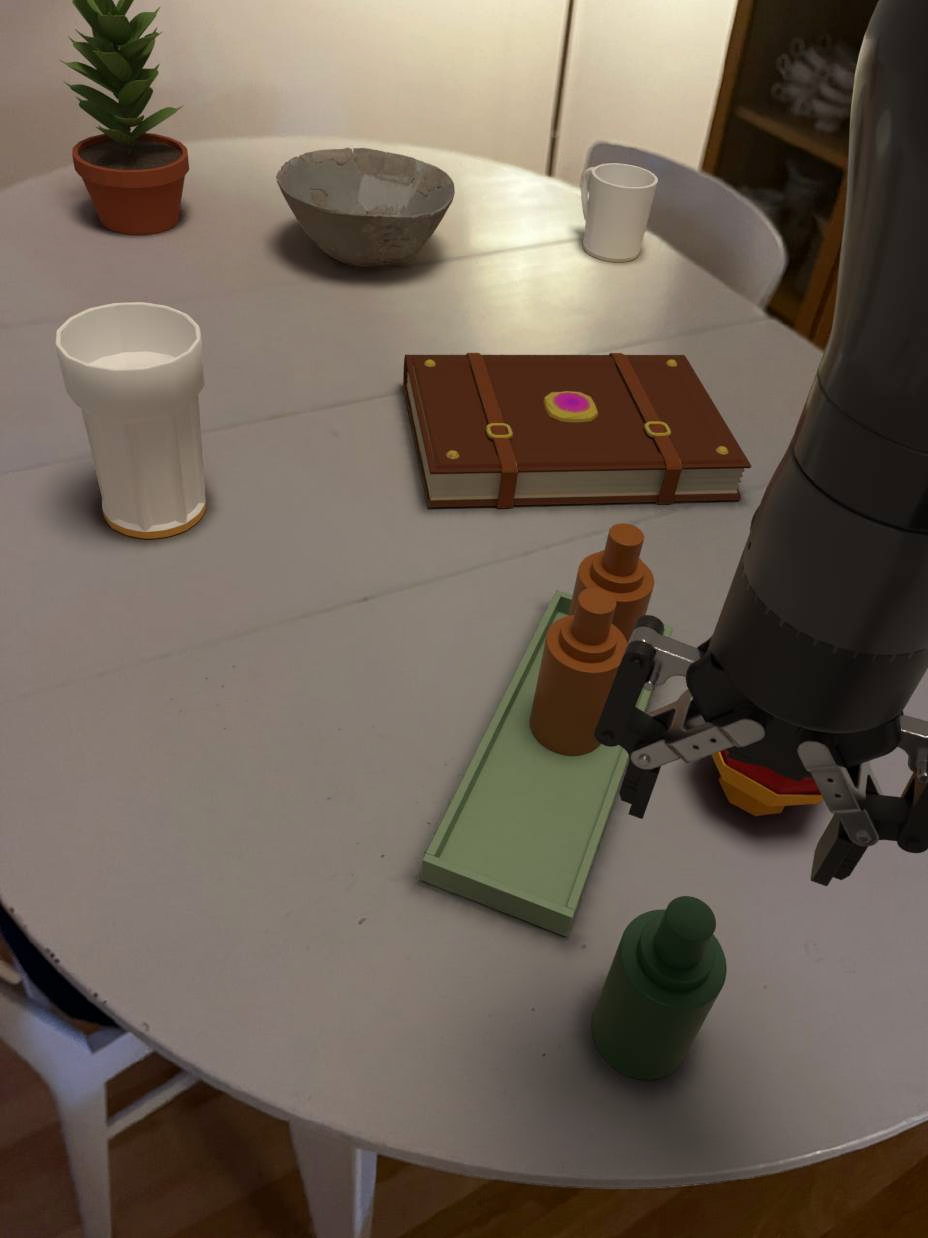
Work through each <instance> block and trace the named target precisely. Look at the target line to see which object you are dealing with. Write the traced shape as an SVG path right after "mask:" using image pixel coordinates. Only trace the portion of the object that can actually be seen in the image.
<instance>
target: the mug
mask: <svg viewBox="0 0 928 1238" xmlns="http://www.w3.org/2000/svg"><path fill="white" fill-rule="evenodd" d="M589 180H590V184H589ZM658 181H659V179H658V177H657V175H656V174H655V173H654V172H652V171H650V170H648V169H646V168H644V167H640V166H637V165H632V164H627V163H621V162H620V163H619V162H617V163H616V162H615V163H613V162H610V163H609V162H608V163H601V164H598V165H596V166H590V167H588V168H586V169H585V170H584V172H583V174H582V176H581V184H580V199H581V208H582V210H581V211H582V214H583V219H584V221H585V224H584V232H583V240H582V241H583V242H582V247H583V250H584V252H585V253H587V254H588V255H589V256H591V257H593V258H594V259H598V260H600V261H603V262H604V261H605V262H609V263H611V262H612V263H627V262H631V261H633V260H635V259H637V258H638V257H639V255H640V253H641V249H642V245H643V240H644V237H645V234H646V229H647V226H648V222H649V217H650V214H651V209H652V206H653V202H654V198H655V194H656V190H657V187H658V183H659V182H658Z"/></svg>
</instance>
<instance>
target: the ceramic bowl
mask: <svg viewBox="0 0 928 1238" xmlns="http://www.w3.org/2000/svg"><path fill="white" fill-rule="evenodd" d="M275 177H276V178H275V179H276V183H277V185H278V188H279V189H280V192H281V195H282V197H283V198H284V200H285V202H286V204H287V205H288V207H289V209H290V210H291V213H292V214H293V215H294V217H295V218H296V220H297V222H298V224H299V225H300V226H301V227H302V229H303V230H304V231H305V233H306V235H308V236H309V238H310V239H311V241H313V242H314V243H315V244H316V245H317V246H318V247H319V248H320V249H321V251H322V252H324V253H325V254H326V255H328V256H329V257H331V258H333V259H334V260H336V261H339V262H340V263H343V264H346V265H348V266H353V267H354V266H355V267H365V268H366V267H367V268H386V267H387V268H388V267H389V268H390V267H397V266H399V265H402V264H404V263H406V262H408V261H409V260H410V259H412V257H414V256H415V255H416V254H418V253H419V252H420V251H421V250H422V249H423V247H424V246H425V245H426V244H427V243H428V241H429V240H430V239H431V237H432V236H433V235H434V233H435V232H436V230H437V228H438V227H439V225H440V224H441V223H442V221H443V219H444V217H445V215H446V213H447V212H448V210H449V208H450V207H451V204H452V203H453V202H454V198H455V193H456V190H455V183H454V181H453V179H452V178H451V176H450V175H449V174H448V173H447V172H446V171H444V170H443V169H441V168H440V167H438V166H436V165H433V164H432V163H429V162H425V161H424V160H420V159H416V158H415V157H412V156H408V155H404V154H400V153H394V152H391V151H390V152H389V151H387V152H386V151H383V150H378V149H373V148H368V147H367V148H366V147H353V148H350V147H344V148H330V149H329V148H328V149H318V150H313V151H309V152H305V153H303V154H299V156H294V157H291V158H289V159H288V161H285V162H284V163H283V165H281V166H280V169H278V171H277V173H276V176H275Z"/></svg>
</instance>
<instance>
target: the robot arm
mask: <svg viewBox="0 0 928 1238" xmlns="http://www.w3.org/2000/svg"><path fill="white" fill-rule="evenodd" d="M850 105H851V106H850V114H849V116H850V117H849V118H850V119H849V130H848V131H849V133H848V134H849V135H848V154H847V175H846V176H847V177H846V178H847V179H846V192H845V205H844V217H843V226H842V237H841V245H840V253H839V261H838V262H839V264H838V274H837V283H836V284H837V285H836V295H835V304H834V310H833V318H832V325H831V330H830V334H829V338H828V341H827V344H826V347H825V349H824V351H823V354H822V356H821V359H820V361H819V364H818V368H817V370H816V373H815V375H814V378H813V381H812V384H811V386H810V389H809V391H808V395H807V398H806V400H805V403H804V405H803V409H802V410H801V414H800V417H799V419H798V422H797V425H796V427H795V430H794V433H793V436H792V438H791V440H790V442H789V445H788V447H787V449H786V451H785V453H784V455H782V456H783V457H782V458H781V460H780V461H779V463H778V465H777V467H776V469H775V470H774V472H773V474H772V476H771V478H770V480H769V481H768V484H767V486H766V488H765V490H764V493H763V495H762V498H761V500H760V503H759V505H758V506H757V508H756V510H755V511H754V513H753V516H752V518H751V521H750V527H749V534H748V536H747V539H746V542H745V545H744V547H743V550H742V554H741V556H740V559H739V562H738V565H737V566H736V570H735V573H734V575H733V577H732V581H731V584H730V586H729V589H728V591H727V595H726V598H725V600H724V602H723V605H722V609H721V611H720V614H719V616H718V619H717V622H716V625H715V628H714V631H713V633H712V635H711V636H710V637H709V638H708V639H707V640H705V641H704V642H702V643H701V644H699V645H698V646H697V647H695V646H693V645H690V644H687V643H685V642H682V641H680V640H677V639H673V638H672V637H670V638H669V637H666V636H663V632H664V624H665V623H664V622H663V621H662V620H661V619H660V618H658V617H656V616H655V615H651V614H646V615H644V616H641V617H640V618H638V620H637V621H636V624H635V627H634V629H633V632H632V634H631V637H630V639H629V642H628V645H627V647H626V650H625V652H624V655H623V657H622V660H621V663H620V665H619V668H618V671H617V673H616V676H615V679H614V681H613V684H612V687H611V689H610V692H609V695H608V697H607V700H606V703H605V705H604V708H603V711H602V713H601V716H600V719H599V721H598V724H597V727H596V729H595V732H594V736H595V738H596V740H597V741H598V742H599V743H601V744H602V745H605V746H608V747H614V746H617V745H619V746H621V747H622V748H624V749H625V750H626V751H627V753H628V755H629V759H628V763H627V766H626V769H625V772H624V775H623V778H622V783H621V784H620V785H621V786H620V789H619V793H618V794H619V798H620V801H621V802H624V803H627V804H629V805H630V808H629V811H628V815H629V816H632V817H635V818H638V819H639V820H643V819H644V817H645V814H646V811H647V808H648V805H649V803H650V799H651V796H652V794H653V791H654V788H655V785H656V782H657V780H658V777H659V775H660V771H661V768H662V766H665V765H668V764H670V763H673V762H675V761H678V760H682V761H683V762H684V763H685V764H690V763H693V762H695V761H698V760H700V759H703V758H706V757H709V756H712V754H714V753H717V752H720V751H722V750H726V751H727V752H728V755H727V757H728V758H731V759H734V760H737V761H740V762H743V763H747V764H753V765H759V766H764V767H767V768H769V769H770V770H772V771H774V772H776V773H778V774H779V775H781V776H784V777H786V778H789V779H792V780H795V781H798V782H801V781H802V779H803V778H813V779H814V781H815V783H816V785H817V787H818V789H819V791H820V793H821V795H822V797H823V799H824V800H823V801H824V802H825V806H826V807H827V809H828V811H829V813H830V814H831V815H833V816H832V817H831V819H830V821H829V822H828V824H827V826H826V828H825V829H824V831H823V833H822V835H821V836H820V839H819V840H818V842H817V843H816V847H815V849H814V854H813V859H812V865H811V866H812V867H811V872H810V881H811V882H812V883H815V884H818V885H821V886H823V887H828V886H829V885H830V883H831V882H832V880H833V878H834V879H837V880H839V881H843V880H845V879H846V878H848V877H850V876H851V875H852V873H853V872H854V870H855V868H856V867H857V865H858V864H859V862H860V861H861V859H862V858H863V856H864V855H865V853H866V851H867V850H868V848H869V847H872V846H875V845H876V844H878V842H880V841H890V842H896V844H897V846H898V847H899V848H900V849H901V850H903V851H904V852H907V853H909V854H910V853H911V854H920V853H924V852H925V853H926V851H927V850H928V720H923V719H921V718H917V717H913V716H910V715H905V713H904V710H905V708H906V706H907V705H908V703H909V701H910V699H912V696H913V694H914V693H915V691H916V689H918V686H919V684H920V682H921V681H922V679H923V678H924V675H925V674H926V672H927V671H928V0H878V1H877V4H876V6H875V8H874V10H873V13H872V15H871V17H870V20H869V22H868V24H867V27H866V30H865V33H864V36H863V39H862V43H861V46H860V49H859V53H858V58H857V63H856V67H855V73H854V80H853V87H852V95H851V104H850ZM677 676H678V677H683V678H685V684H686V687H687V689H686V690H685V691H683V692H682V694H681V695H680V696H679V697H678V699H676V700H675V701H673V702H671V703H669V704H667V705H664V706H662V707H659V708H657V709H655V710H652V711H650V712H647V713H646V711H645V712H643V711H642V710H640V709H639V708H637V707H635V706H636V703H637V701H638V698H639V696H640V693H641V691H642V689H643V688H644V689H645V690H648V691H652V692H653V691H654V690H655V689H656V687H659V686H662V685H664V684H665V683H666V682H667V681H668V679H670V678H672V677H677ZM897 748H899V749H901V750H902V751H904V753H906V755H907V767H908V769H909V770H910V771H911V772H912V774H911V776H910V778H909V780H908V782H907V783H906V785H905V787H904V790H903V791H902V793H901V795H900V796H895V795H885V794H884V793H883V791H882V789H881V786H880V784H879V783H878V780H877V778H876V776H875V774H874V771H873V769H872V766H871V762H870V761H873V760H876V759H879V758H882V757H885V756H887V755H889V754H891V753H892V752H894V751H895V750H896V749H897Z"/></svg>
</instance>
